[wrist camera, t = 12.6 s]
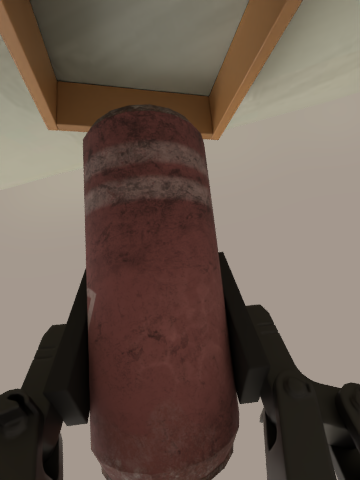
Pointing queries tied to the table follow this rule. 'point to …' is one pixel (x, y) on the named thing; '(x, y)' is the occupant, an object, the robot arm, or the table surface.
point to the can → (155, 301)
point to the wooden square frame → (109, 98)
